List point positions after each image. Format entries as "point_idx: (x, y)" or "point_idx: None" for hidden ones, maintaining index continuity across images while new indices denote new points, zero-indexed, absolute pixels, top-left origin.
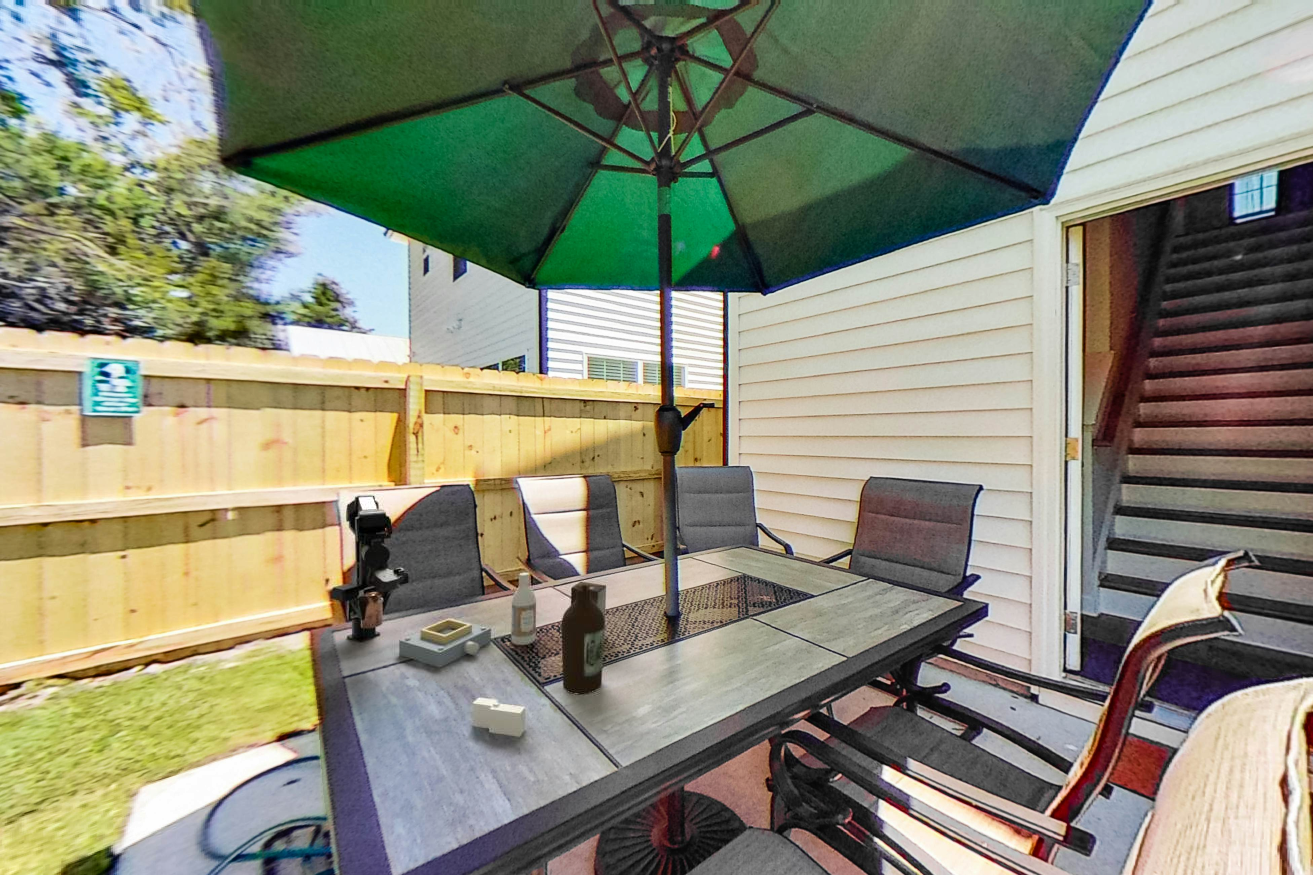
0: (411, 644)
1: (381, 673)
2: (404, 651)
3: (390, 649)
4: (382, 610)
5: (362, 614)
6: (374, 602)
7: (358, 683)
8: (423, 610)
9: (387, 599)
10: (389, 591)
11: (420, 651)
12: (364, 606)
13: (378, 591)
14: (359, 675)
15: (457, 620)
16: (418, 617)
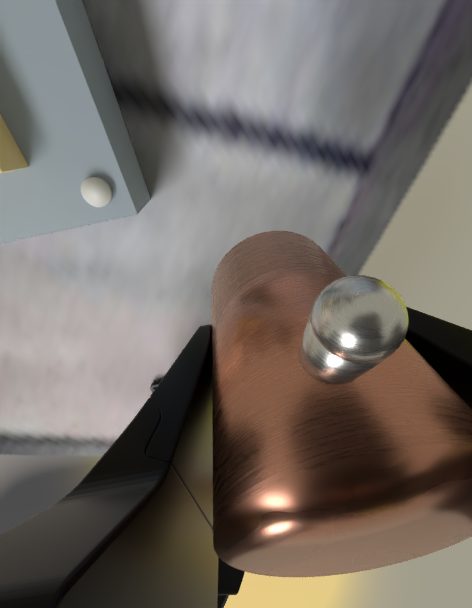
0: (96, 105)
1: (274, 60)
2: (133, 165)
3: (161, 268)
4: (221, 317)
5: (408, 312)
6: (388, 359)
7: (379, 43)
8: (5, 446)
9: (150, 413)
10: (95, 537)
11: (66, 2)
12: (464, 356)
13: (210, 569)
14: (332, 130)
15: None
16: (26, 418)
